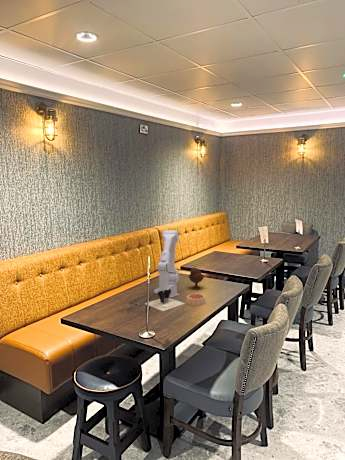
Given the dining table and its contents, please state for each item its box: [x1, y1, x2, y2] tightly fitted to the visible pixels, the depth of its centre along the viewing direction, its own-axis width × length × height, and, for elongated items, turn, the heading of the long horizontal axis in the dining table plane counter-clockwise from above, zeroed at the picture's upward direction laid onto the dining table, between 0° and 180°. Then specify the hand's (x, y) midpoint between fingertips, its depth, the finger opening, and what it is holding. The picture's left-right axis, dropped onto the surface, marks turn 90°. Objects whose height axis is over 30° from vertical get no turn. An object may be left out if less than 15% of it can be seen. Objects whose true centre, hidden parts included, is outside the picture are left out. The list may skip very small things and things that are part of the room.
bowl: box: [186, 293, 206, 307], centre depth 228 cm, size 11×11×4 cm
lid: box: [153, 296, 176, 307], centre depth 228 cm, size 14×14×4 cm
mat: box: [144, 297, 186, 312], centre depth 228 cm, size 18×18×1 cm
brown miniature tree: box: [188, 267, 205, 290], centre depth 258 cm, size 11×11×15 cm
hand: (164, 301), depth 228 cm, fingers closed on lid, 3 cm apart
